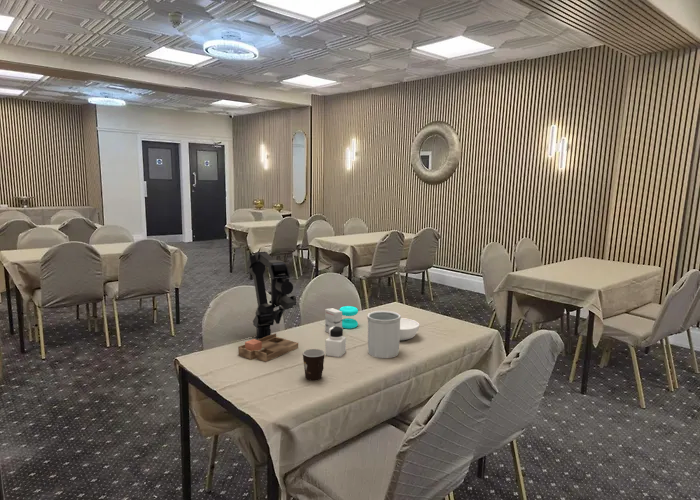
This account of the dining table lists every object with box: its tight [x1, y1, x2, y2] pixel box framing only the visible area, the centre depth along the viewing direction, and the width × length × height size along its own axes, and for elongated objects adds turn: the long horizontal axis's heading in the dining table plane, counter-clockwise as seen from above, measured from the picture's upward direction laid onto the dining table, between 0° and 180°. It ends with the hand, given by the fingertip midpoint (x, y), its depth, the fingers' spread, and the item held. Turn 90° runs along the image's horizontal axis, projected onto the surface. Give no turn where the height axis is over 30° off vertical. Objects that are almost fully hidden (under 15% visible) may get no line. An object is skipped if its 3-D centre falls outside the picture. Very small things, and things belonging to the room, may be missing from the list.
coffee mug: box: [302, 348, 326, 382], centre depth 178 cm, size 12×9×10 cm
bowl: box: [399, 317, 420, 341], centre depth 227 cm, size 18×18×7 cm
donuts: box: [338, 305, 359, 330], centre depth 243 cm, size 10×10×10 cm
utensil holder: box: [366, 310, 402, 359], centre depth 206 cm, size 15×15×18 cm
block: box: [244, 338, 262, 351], centre depth 201 cm, size 5×5×4 cm
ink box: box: [324, 307, 343, 334], centre depth 232 cm, size 9×5×12 cm, turn 39°
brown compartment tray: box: [237, 332, 299, 363], centre depth 206 cm, size 15×23×4 cm, turn 145°
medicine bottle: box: [324, 326, 347, 358], centre depth 204 cm, size 7×7×12 cm
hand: (277, 323), depth 208 cm, fingers closed
